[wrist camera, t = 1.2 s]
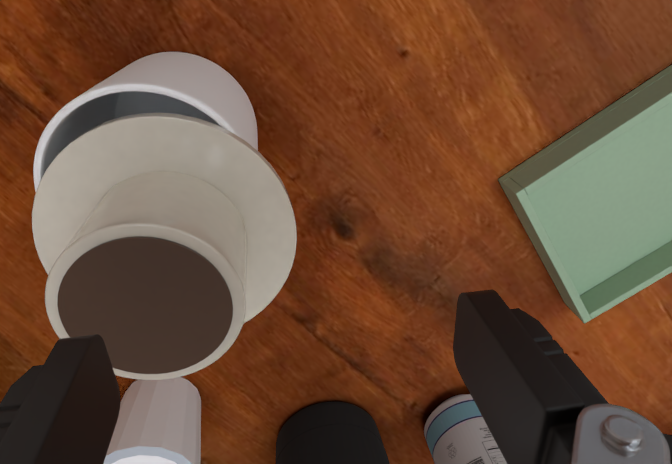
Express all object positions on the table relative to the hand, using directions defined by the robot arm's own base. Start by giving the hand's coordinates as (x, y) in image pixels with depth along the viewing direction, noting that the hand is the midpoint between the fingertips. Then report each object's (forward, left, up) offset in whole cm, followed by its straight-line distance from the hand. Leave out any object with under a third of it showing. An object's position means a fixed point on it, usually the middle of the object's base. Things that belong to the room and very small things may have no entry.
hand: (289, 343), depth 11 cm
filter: (+4, -1, -10) cm, 11 cm away
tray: (-19, +18, -20) cm, 33 cm away
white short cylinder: (+19, +12, -20) cm, 30 cm away
